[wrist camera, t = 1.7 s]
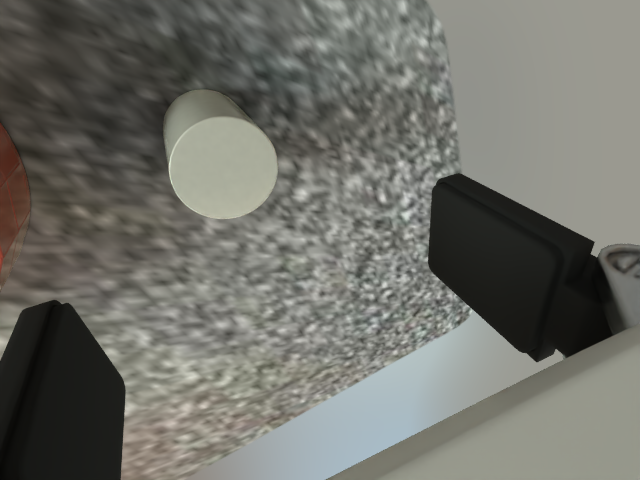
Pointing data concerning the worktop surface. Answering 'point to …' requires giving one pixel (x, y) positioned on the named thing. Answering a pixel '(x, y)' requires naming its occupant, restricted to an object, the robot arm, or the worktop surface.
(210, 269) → the worktop surface
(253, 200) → the pale grey cylinder
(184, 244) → the worktop surface
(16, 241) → the pan
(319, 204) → the worktop surface
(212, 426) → the worktop surface
